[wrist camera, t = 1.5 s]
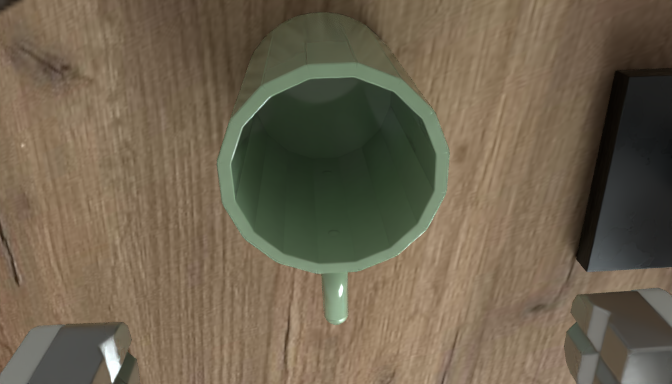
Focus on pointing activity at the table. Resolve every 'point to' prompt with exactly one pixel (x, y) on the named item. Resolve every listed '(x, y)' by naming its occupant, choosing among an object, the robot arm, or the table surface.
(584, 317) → the robot arm
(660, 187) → the mug stand
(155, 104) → the table surface
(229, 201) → the green mug
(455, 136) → the table surface
